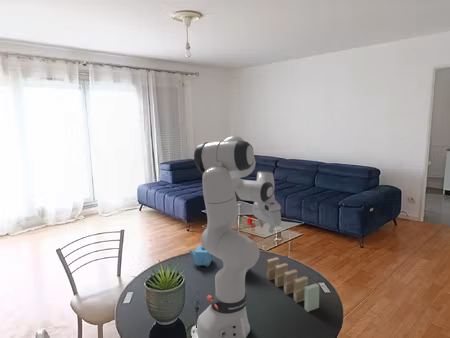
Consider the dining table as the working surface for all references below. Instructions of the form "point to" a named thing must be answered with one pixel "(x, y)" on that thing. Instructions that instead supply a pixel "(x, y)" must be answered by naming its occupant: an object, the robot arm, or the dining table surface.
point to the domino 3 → (289, 281)
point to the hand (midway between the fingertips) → (266, 229)
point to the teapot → (201, 256)
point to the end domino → (311, 297)
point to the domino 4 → (300, 288)
